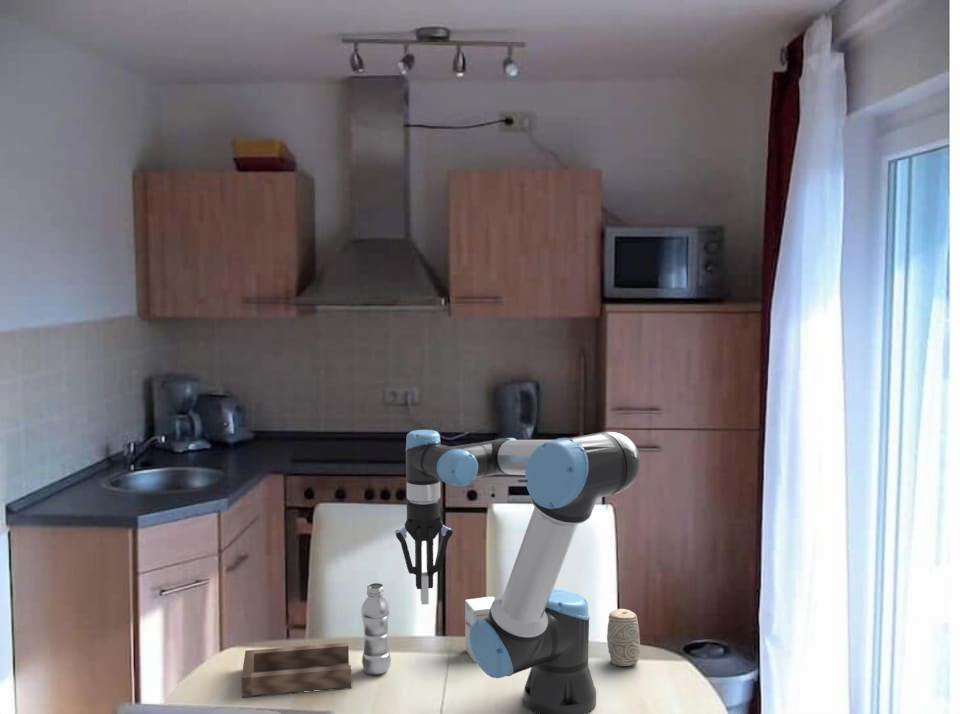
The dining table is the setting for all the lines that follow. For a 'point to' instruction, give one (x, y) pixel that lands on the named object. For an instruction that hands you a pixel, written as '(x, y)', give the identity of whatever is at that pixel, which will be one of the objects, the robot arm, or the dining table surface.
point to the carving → (623, 637)
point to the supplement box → (475, 616)
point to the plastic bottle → (375, 631)
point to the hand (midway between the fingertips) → (424, 601)
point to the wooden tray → (295, 669)
